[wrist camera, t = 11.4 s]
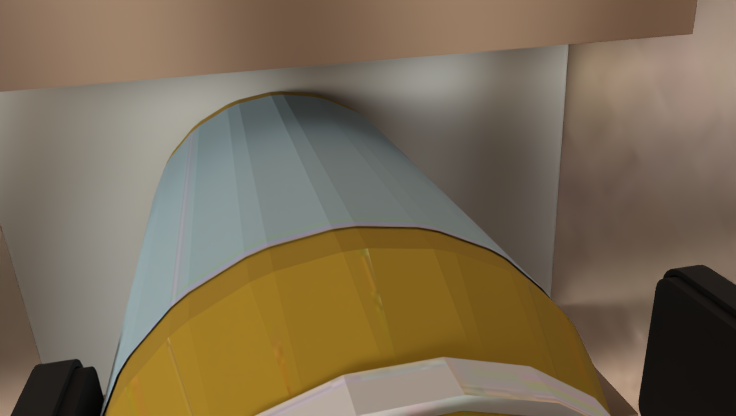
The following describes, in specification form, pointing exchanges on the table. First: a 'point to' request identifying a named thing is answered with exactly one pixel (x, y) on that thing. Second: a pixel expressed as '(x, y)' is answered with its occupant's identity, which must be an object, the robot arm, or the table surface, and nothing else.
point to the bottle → (330, 285)
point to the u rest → (262, 75)
